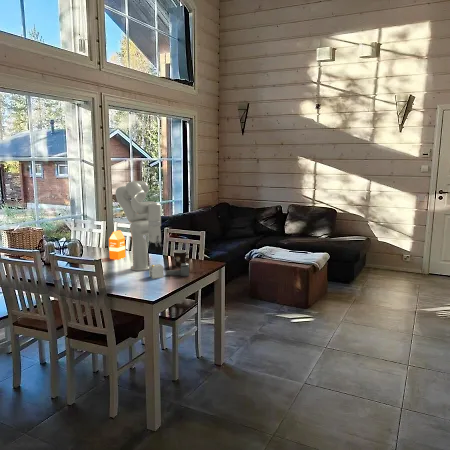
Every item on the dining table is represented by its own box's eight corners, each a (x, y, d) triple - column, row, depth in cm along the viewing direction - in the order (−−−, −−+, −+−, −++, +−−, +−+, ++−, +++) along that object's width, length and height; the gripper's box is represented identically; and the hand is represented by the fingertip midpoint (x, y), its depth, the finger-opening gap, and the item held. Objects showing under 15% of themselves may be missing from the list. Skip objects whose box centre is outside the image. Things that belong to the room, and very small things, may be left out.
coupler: (166, 273, 257) (166, 262, 256) (189, 273, 258) (188, 262, 257) (166, 276, 250) (165, 265, 249) (189, 276, 251) (188, 265, 250)
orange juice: (109, 258, 295) (108, 231, 292) (117, 256, 303) (116, 229, 300) (118, 259, 292) (117, 232, 289) (125, 257, 300) (124, 230, 297)
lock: (149, 276, 251) (148, 264, 250) (160, 274, 254) (159, 262, 253) (152, 279, 246) (152, 266, 245) (163, 277, 249) (163, 264, 248)
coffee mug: (171, 265, 276) (170, 251, 274) (180, 263, 282) (180, 249, 280) (182, 268, 268) (182, 254, 266) (192, 266, 274) (192, 251, 273)
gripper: (144, 221, 250) (144, 249, 253) (153, 226, 235) (154, 254, 238) (155, 221, 254) (156, 247, 257) (165, 225, 239) (166, 253, 242)
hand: (155, 251), depth 247 cm, fingers open, 9 cm apart
